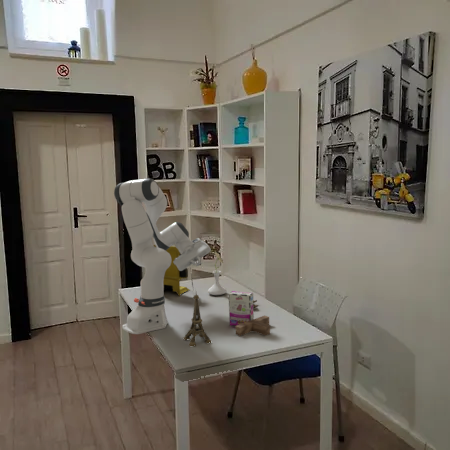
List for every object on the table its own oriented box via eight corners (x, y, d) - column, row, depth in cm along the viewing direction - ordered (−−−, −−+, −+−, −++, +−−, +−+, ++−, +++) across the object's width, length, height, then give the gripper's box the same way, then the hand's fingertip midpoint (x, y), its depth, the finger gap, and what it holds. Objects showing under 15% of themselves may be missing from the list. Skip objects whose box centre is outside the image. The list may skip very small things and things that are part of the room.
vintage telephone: (202, 292, 277) (201, 243, 273) (190, 298, 265) (189, 248, 261) (160, 286, 292) (158, 240, 287) (147, 292, 280) (145, 244, 275)
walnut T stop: (252, 340, 202) (252, 332, 201) (235, 334, 210) (235, 326, 209) (281, 329, 215) (281, 321, 215) (264, 323, 223) (264, 315, 223)
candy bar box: (254, 325, 221) (253, 292, 219) (250, 328, 216) (250, 295, 214) (232, 322, 225) (232, 290, 223) (229, 325, 221) (228, 293, 218)
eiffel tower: (190, 347, 197) (188, 291, 193) (182, 338, 206) (180, 285, 203) (212, 342, 201) (211, 288, 197) (204, 334, 210) (202, 282, 207)
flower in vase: (226, 296, 267) (225, 255, 264) (207, 296, 268) (206, 255, 264) (226, 290, 280) (226, 250, 277) (208, 290, 280) (207, 250, 277)
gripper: (169, 257, 242) (179, 271, 232) (201, 236, 245) (212, 249, 235) (174, 264, 246) (184, 279, 236) (205, 243, 249) (216, 257, 239)
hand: (198, 264), depth 236 cm, fingers closed
